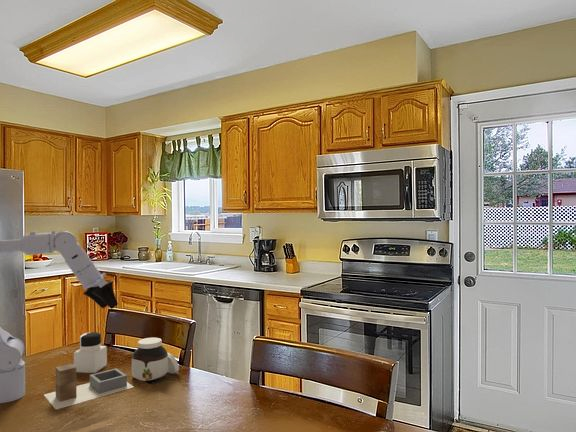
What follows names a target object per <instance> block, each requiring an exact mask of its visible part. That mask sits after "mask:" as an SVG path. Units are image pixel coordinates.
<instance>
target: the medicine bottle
mask: <svg viewBox="0 0 576 432" xmlns="http://www.w3.org/2000/svg"><path fill="white" fill-rule="evenodd" d="M107 348H108V347H107V346H106V345H102V335H101V333H100V332H97V331H96V332H95V331H91V332H85V333H83V334H80V336H79V349H77V350H75V351H74V352H73V365H74V366H75V367H76V373H87V374H96V373H98V372H99V371H100V370H101V369H104V368H105V367H106V366H107V365H108V358H107V357H108V356H107V355H108V354H107V353H108V352H107V350H108V349H107Z"/></svg>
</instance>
